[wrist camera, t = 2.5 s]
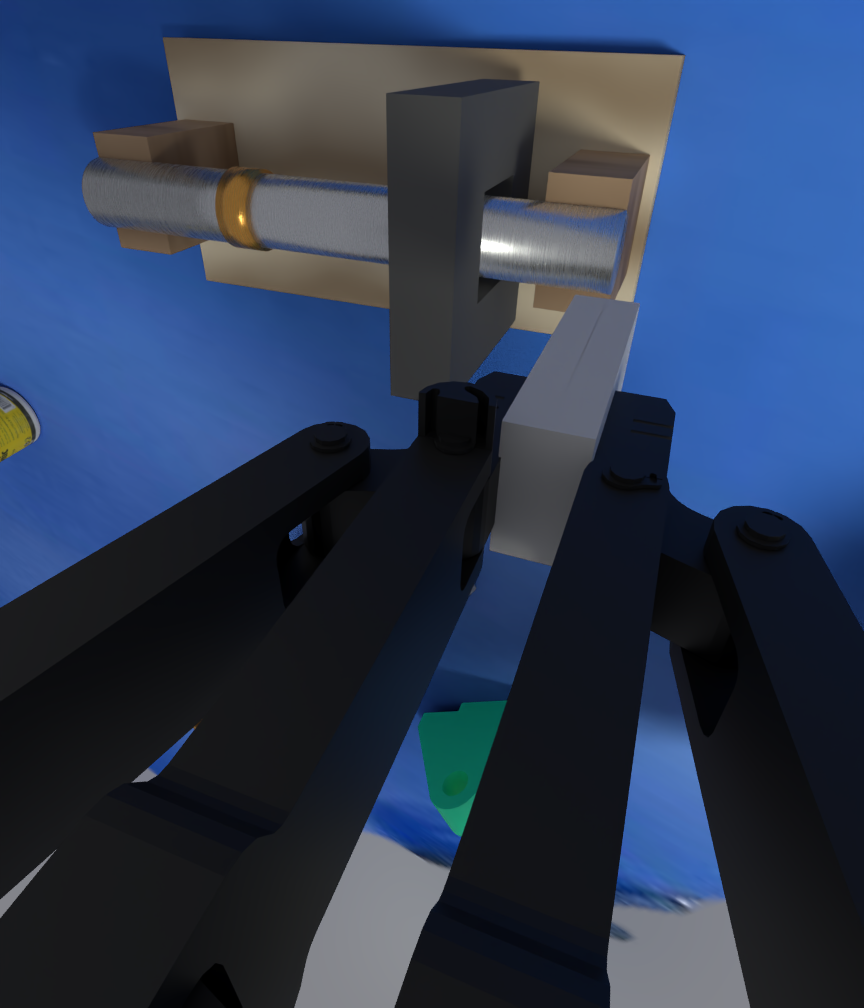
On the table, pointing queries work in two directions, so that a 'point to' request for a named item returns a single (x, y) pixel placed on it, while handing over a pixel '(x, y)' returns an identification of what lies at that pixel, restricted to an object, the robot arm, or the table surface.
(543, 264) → the pipe
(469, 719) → the camera mount
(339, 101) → the pipe stand
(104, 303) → the table surface
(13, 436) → the supplement bottle
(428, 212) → the collar
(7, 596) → the table surface
